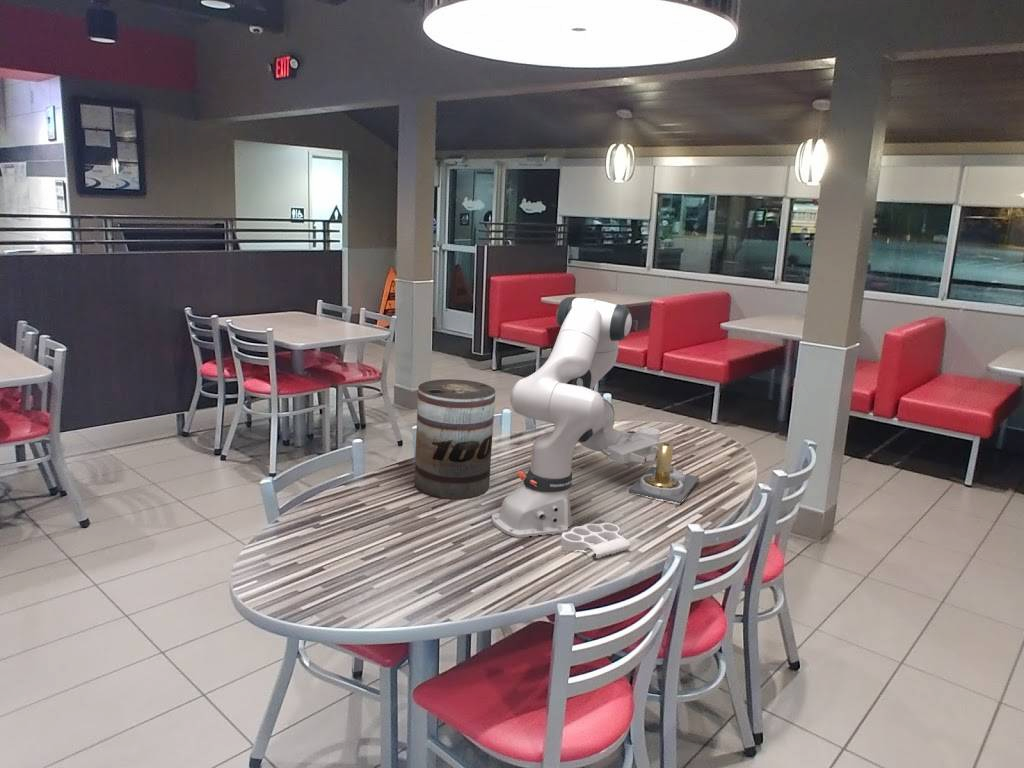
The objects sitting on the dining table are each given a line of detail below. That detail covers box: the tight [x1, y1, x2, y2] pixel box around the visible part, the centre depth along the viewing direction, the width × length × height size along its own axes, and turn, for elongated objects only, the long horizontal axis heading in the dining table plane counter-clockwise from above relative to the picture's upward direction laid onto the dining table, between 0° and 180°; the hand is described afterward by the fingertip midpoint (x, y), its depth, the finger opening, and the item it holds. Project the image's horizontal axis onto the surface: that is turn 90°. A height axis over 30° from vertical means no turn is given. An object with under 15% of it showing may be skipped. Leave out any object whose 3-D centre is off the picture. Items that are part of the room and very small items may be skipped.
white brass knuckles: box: [560, 522, 631, 559], centre depth 195 cm, size 3×18×15 cm
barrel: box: [413, 378, 497, 501], centre depth 224 cm, size 22×22×30 cm
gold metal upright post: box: [647, 441, 676, 489], centre depth 232 cm, size 9×9×14 cm
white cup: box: [636, 426, 661, 462], centre depth 264 cm, size 8×8×10 cm
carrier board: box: [628, 465, 700, 503], centre depth 238 cm, size 24×16×6 cm, turn 153°
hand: (654, 457), depth 234 cm, fingers open, 8 cm apart
